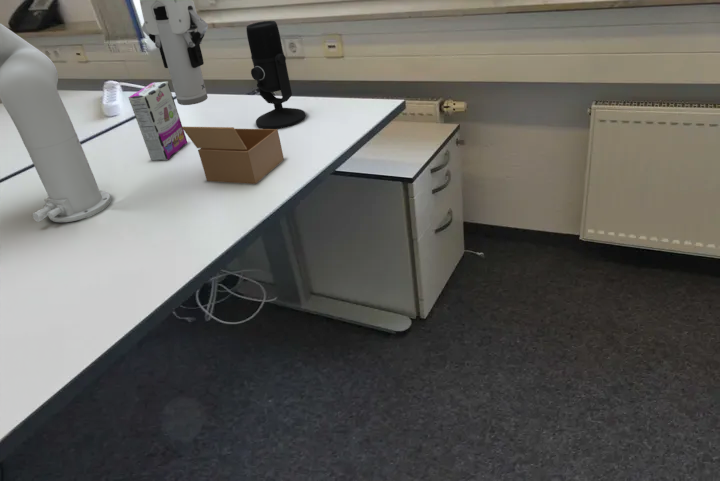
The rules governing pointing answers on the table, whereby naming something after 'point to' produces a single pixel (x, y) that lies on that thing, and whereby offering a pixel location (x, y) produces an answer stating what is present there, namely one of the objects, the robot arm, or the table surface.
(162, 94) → the candy bar box
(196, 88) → the travel mug
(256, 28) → the microphone
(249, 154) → the carton
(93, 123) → the table surface
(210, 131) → the front flap
